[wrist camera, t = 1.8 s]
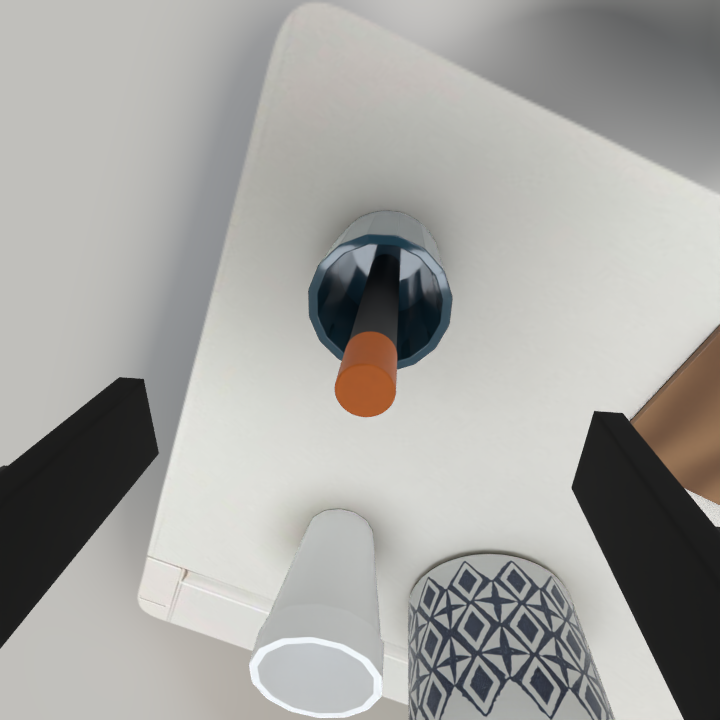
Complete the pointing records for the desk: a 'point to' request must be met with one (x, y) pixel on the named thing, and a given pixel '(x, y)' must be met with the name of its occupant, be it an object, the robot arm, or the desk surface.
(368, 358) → the marker
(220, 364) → the desk surface
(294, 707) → the foam cup
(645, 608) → the robot arm
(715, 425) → the brown wooden board
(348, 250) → the pen cup
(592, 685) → the planter
